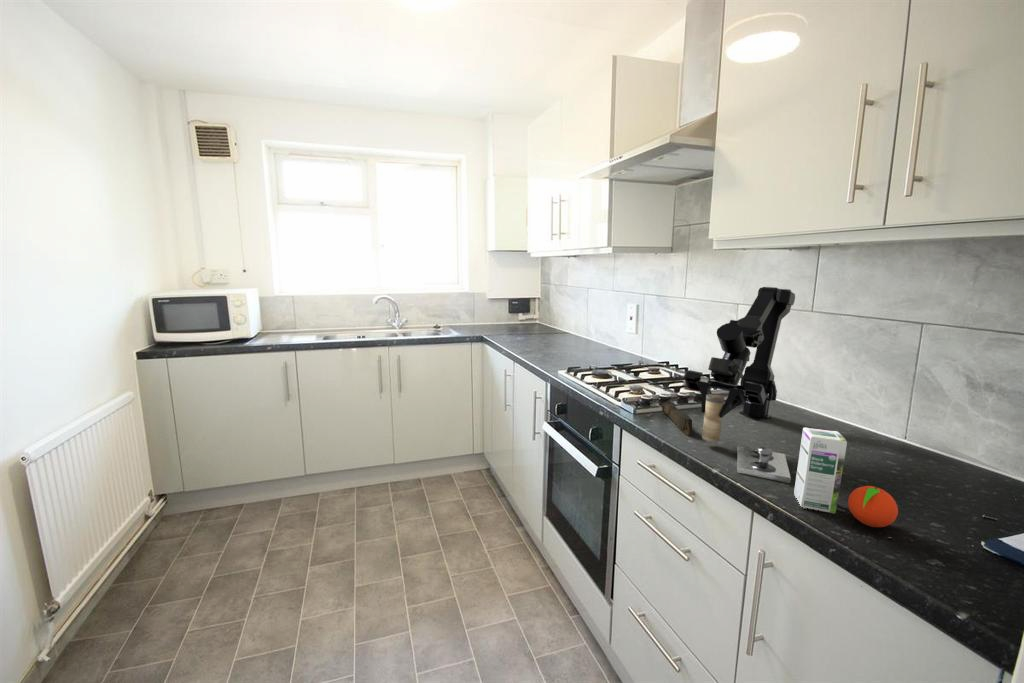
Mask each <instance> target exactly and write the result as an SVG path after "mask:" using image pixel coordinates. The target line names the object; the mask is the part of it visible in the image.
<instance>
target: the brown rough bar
mask: <svg viewBox="0 0 1024 683" xmlns="http://www.w3.org/2000/svg"><path fill="white" fill-rule="evenodd" d="M661 410H662V411H661V412H662V413H663V412H664V413H663V414H664V415H667V416H668V418H669V419H670V420H672V422H673V423H674V424H675V426H677V430H678V429H679V431H680V432H681V431H682V432H683V433H682V432H681V433H682V434H684V433H685V434H684V435H686V436H688V437H690V436H691V434H692V430H693V420H692V418H691V417H690V415H688V414H684V413H682V411H681V410H679V409H678V408H677V406H676V405H675V403H674V402H672V401H666V402H665V401H664V402H663V403H662V405H661Z"/></svg>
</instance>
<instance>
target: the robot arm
mask: <svg viewBox="0 0 1024 683" xmlns="http://www.w3.org/2000/svg"><path fill="white" fill-rule="evenodd" d="M795 300H796V294H795V293H794V292H793V291H792V290H791V289H788V288H778V287H772V286H771V287H770V286H762V287H759V289H758V291H757V296H756V298H755V299H754V301H753V303H752V304H751V305H750V308H749V309H748V312H747V313H746V315H745V316H743V317H742V318H739V319H737V320H734V319H730V321H729V322H728V323H724V324H722V325H721V326H719V327H718V328H717V330H716V335H717V340H718V342H719V345H720V348H721V350H722V351H723V352H724V353H723V356H722V358H719V357H713V356H712V357H711V358H710V361H709V365H708V371H711V373H710V377H712V379H711V378H710V377H707V376H704V373H703V372H702V371H701V372H700V371H696V370H692V369H689V370H687V371H685V373H684V375H683V379H684V381H685V384H686V387H687V388H688V389H690V390H692V391H697V392H699V393H700V394H701V405H700V406H701V407H700V408H701V410H700V412H701V413H702V414H705V405H706V395H707V394H713V393H712V391H711V390H712V388H713V389H716V390H717V389H718V390H722V391H726V392H728V395H727V397H726V399H725V400H724V404H723V407H722V409H721V411H720V414H719V417H720V418H722V419H723V418H724V416H726V415H727V414H729V413H730V412H731V411H732V410H734V409H735V408H736V407H738V406H740V405H743V408H742V410H741V411H739V413H738V414H740V415H743V416H746V417H748V418H750V419H752V420H755V421H760V420H768V419H769V420H770V419H772V418H773V416H772V415H769V409H770V402H772V401H777V395H778V394H777V393H778V389H777V386H776V385H777V384H776V382H775V374H774V372H773V369H772V366H771V365H772V361H773V357H774V352H775V349H776V344H777V340H778V336H779V332H780V327H781V324H782V320H783V318H785V317H786V316H787V315H788V314H789V313H790V312H791V309H792V306H793V305H794V304H795ZM750 348H753V349H754V348H756V350H755V354H754V357H753V358H754V359H753V361H752V363H751V364H750V365H747V363H748V362H749V361H750V356H751V351H750ZM746 365H747V366H746ZM743 373H744V374H743ZM739 382H740V385H739Z"/></svg>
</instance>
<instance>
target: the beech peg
mask: <svg viewBox="0 0 1024 683" xmlns="http://www.w3.org/2000/svg"><path fill="white" fill-rule="evenodd" d="M724 403H725V397H724V395H720V394H717V393H716V394H715V393H712V394H707V395H706V405H705V412H704V413H703V414H704V416H703V426H702V432H701V434H702V435H701V438H702V439H703V440H705V441H708V442H715V443H716V442H719V441H720V438H721V437H720V436H721V429H722V420H723V417H722V418H720V417H719V414H720V411H721V409H722V407H723V405H724Z"/></svg>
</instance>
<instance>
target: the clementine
mask: <svg viewBox="0 0 1024 683" xmlns="http://www.w3.org/2000/svg"><path fill="white" fill-rule="evenodd" d="M847 499H848V501H847V504H848V506H847V507H848V509H849V511H850V513H851V515H852V516H853V517H854V518H855V519H856V520H858V521H859V522H860V523H861V524H863V525H865V526H867V527H872V528H885V527H887V526H889V525H892V524H893V523H894V522H895V521H896V519H897V517H898V514H899V508H898V505H897V503H896V502H897V501H896V500H895V499H894V497H893V496H892V495H891V494H889V493H888V492H887V491H886V490H884V489H882V488H880V487H877V486H873V485H865V486H864V485H863V486H860V487H857V488H855V489H854V490H853V491H851V493H850V494H849V496H848V498H847Z"/></svg>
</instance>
